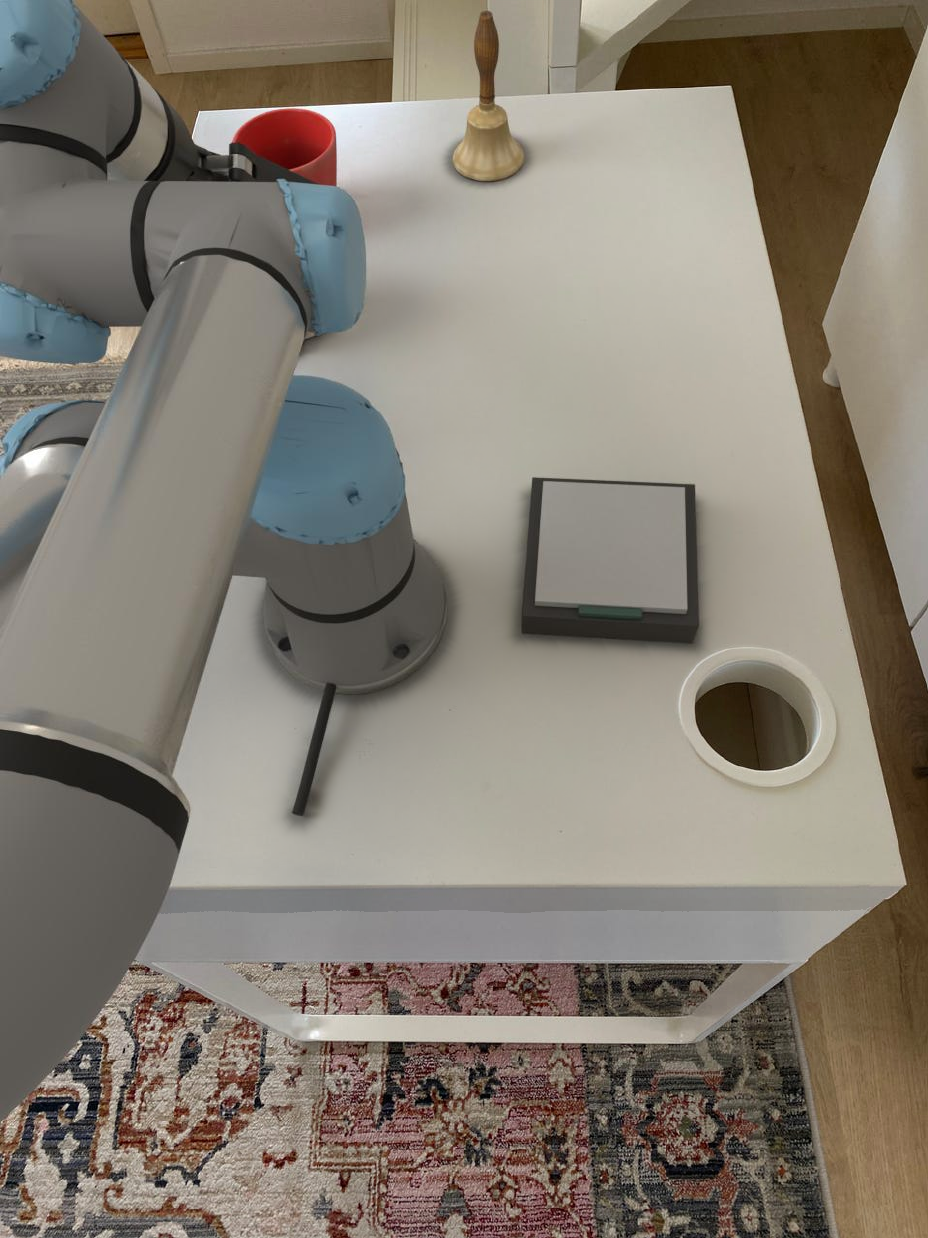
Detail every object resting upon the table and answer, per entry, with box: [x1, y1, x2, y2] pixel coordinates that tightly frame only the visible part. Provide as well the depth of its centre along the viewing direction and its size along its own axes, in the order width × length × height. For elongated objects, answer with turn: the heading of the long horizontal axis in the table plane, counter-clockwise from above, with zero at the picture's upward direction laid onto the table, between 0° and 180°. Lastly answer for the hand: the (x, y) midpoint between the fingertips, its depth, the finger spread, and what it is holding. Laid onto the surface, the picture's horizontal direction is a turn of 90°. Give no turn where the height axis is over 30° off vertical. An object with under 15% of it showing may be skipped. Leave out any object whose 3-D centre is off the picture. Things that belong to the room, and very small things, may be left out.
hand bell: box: [452, 10, 525, 182], centre depth 102 cm, size 8×8×16 cm
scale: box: [521, 476, 700, 644], centre depth 79 cm, size 14×14×4 cm
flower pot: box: [231, 107, 338, 187], centre depth 101 cm, size 11×11×10 cm
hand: (229, 229), depth 82 cm, fingers open, 13 cm apart
